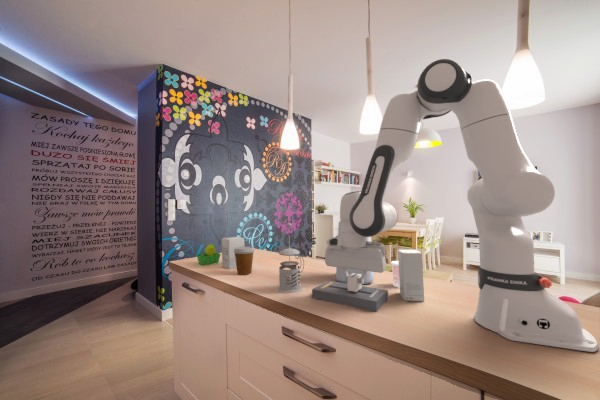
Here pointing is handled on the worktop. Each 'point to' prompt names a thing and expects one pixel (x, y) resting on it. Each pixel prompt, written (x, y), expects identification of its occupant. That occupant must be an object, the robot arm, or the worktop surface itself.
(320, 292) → the fader console
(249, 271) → the disposable coffee cup
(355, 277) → the fader knob
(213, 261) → the fruit basket
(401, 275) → the skincare box
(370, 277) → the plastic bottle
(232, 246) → the supplement box
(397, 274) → the beverage cup
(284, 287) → the french press
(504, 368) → the worktop surface
